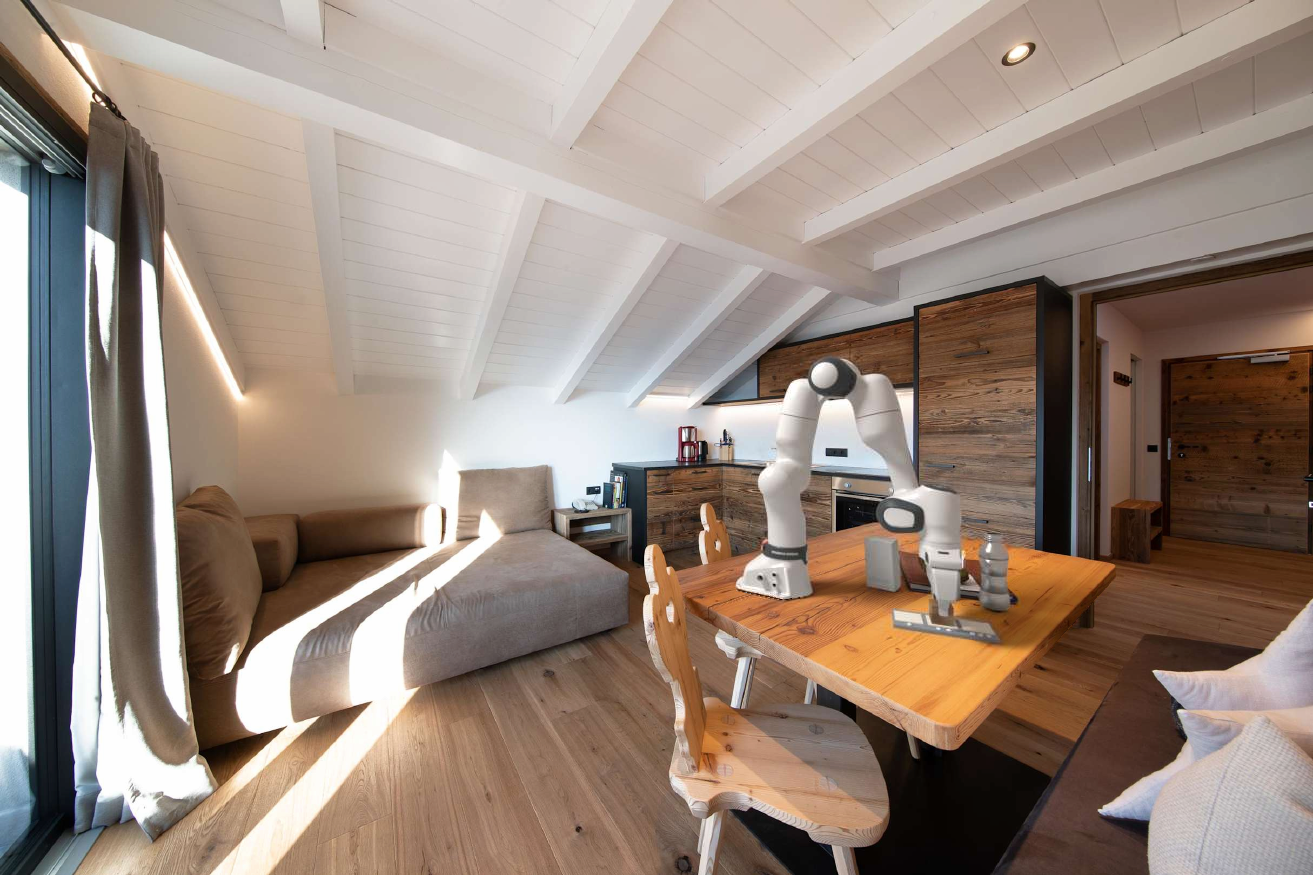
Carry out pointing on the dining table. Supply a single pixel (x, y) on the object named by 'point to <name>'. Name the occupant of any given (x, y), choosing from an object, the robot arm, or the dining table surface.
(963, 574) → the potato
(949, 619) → the marker cube
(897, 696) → the dining table surface
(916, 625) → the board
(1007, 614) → the dining table surface
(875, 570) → the skincare box
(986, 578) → the plastic bottle
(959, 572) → the sage mug
